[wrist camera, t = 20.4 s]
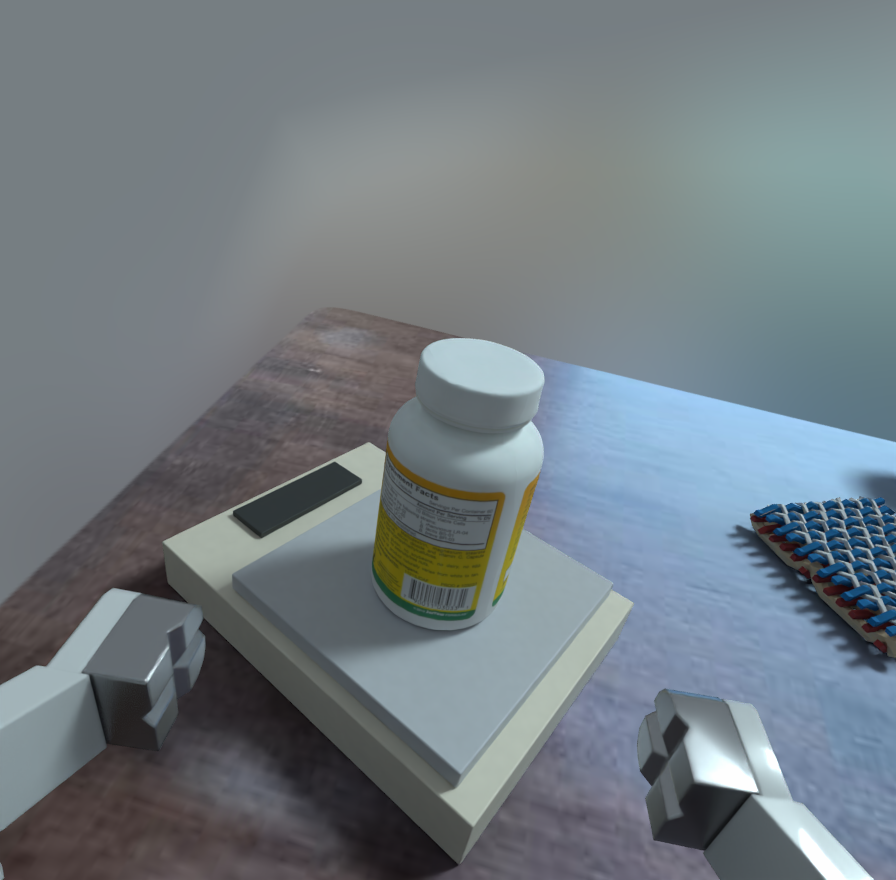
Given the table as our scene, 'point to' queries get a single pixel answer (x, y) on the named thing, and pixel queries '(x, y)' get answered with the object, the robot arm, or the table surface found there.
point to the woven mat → (841, 558)
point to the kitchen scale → (398, 644)
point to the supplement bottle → (457, 483)
